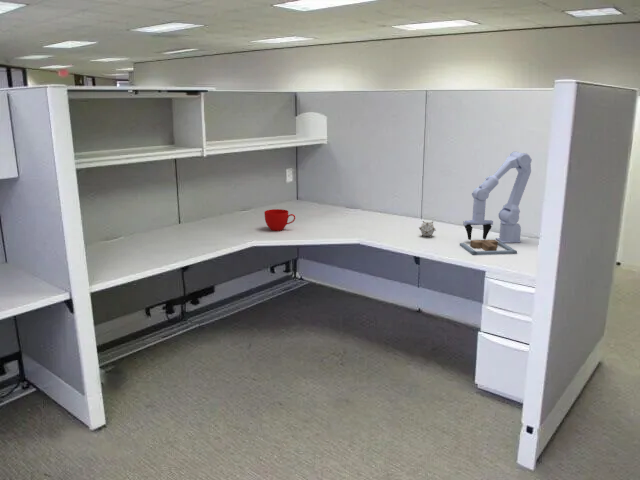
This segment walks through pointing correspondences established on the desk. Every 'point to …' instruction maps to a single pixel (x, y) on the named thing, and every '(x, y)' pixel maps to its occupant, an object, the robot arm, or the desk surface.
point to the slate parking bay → (507, 251)
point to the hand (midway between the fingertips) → (476, 239)
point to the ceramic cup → (277, 219)
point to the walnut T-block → (484, 244)
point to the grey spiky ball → (427, 229)
